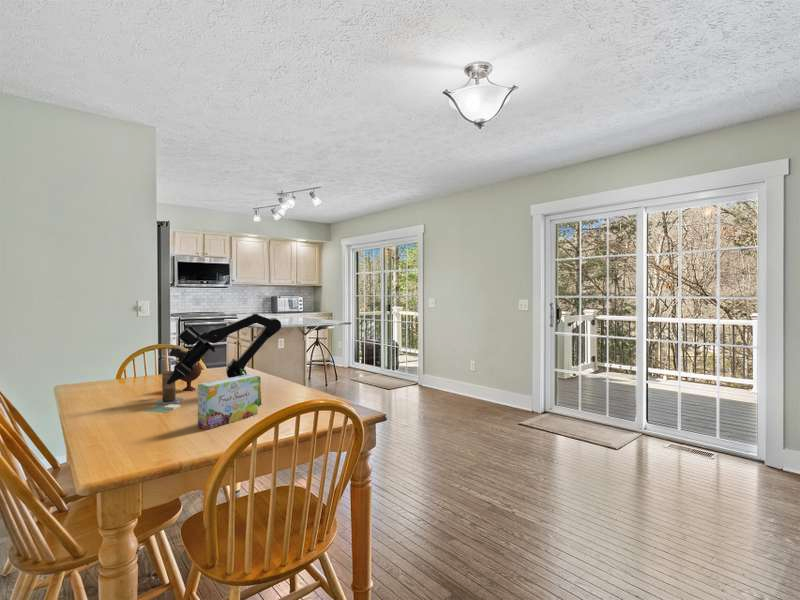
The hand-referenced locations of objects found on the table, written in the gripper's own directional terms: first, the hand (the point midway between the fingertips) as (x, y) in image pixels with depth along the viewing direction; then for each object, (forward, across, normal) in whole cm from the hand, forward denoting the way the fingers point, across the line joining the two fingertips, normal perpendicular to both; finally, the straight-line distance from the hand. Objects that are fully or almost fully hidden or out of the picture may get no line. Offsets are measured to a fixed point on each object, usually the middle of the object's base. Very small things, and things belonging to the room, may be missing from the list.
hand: (168, 381), depth 180 cm
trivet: (+6, 0, +6) cm, 9 cm away
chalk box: (-14, +18, +27) cm, 35 cm away
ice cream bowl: (+2, -20, +11) cm, 23 cm away
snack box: (-9, +38, +22) cm, 45 cm away
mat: (+7, +12, +5) cm, 15 cm away
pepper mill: (+6, 0, +6) cm, 8 cm away
